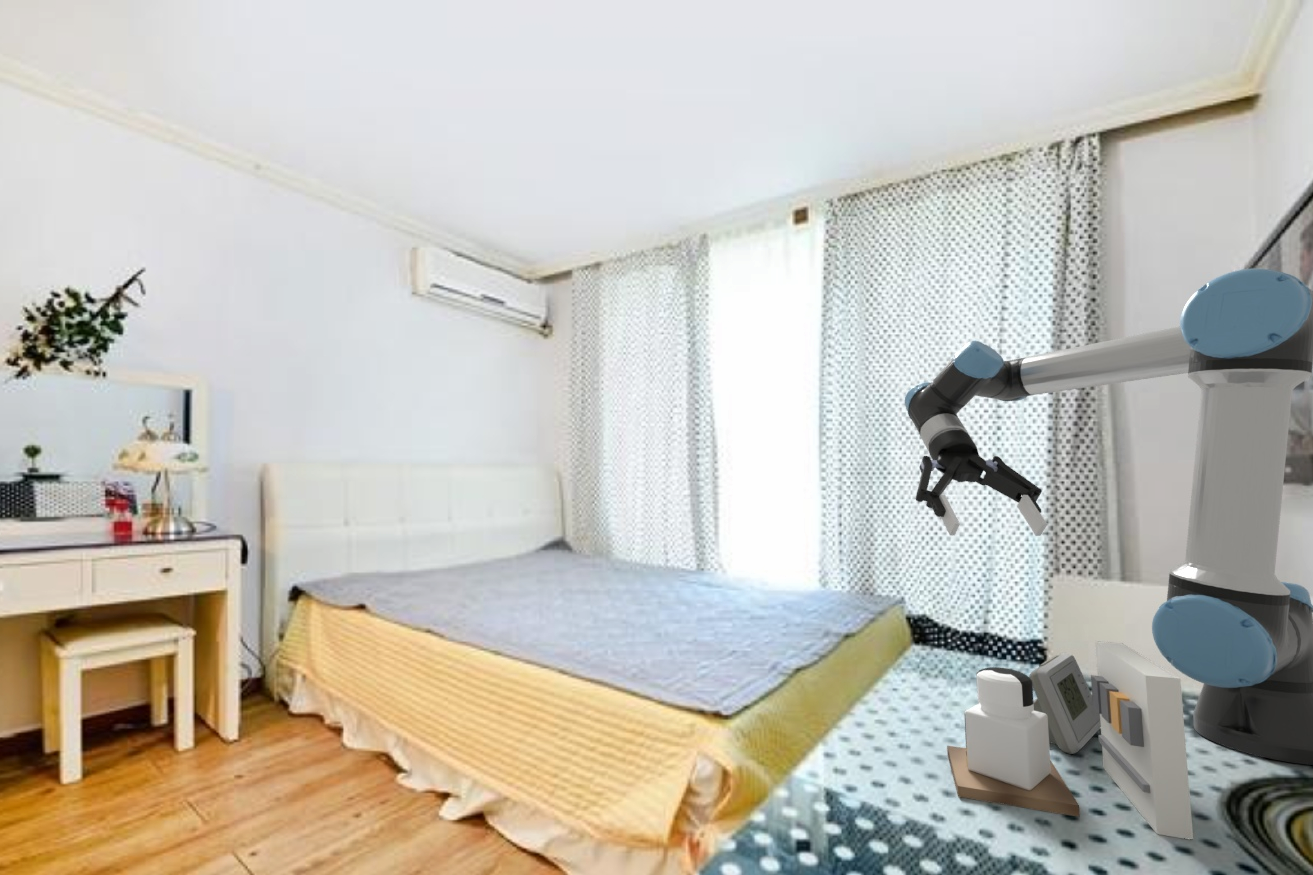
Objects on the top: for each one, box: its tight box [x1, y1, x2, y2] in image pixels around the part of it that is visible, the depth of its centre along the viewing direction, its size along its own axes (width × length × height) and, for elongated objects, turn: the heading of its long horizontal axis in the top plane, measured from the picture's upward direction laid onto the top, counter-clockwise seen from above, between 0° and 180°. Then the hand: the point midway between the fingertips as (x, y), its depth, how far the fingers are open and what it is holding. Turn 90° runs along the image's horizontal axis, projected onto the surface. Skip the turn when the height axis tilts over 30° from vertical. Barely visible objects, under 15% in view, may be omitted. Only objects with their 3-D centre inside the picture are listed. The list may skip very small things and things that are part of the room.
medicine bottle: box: [964, 666, 1051, 791], centre depth 73 cm, size 7×7×12 cm
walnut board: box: [946, 745, 1081, 818], centre depth 73 cm, size 12×12×1 cm
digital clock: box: [1028, 652, 1101, 755], centre depth 87 cm, size 16×9×11 cm, turn 121°
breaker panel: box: [1090, 640, 1194, 840], centre depth 69 cm, size 4×16×16 cm, turn 159°
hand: (998, 530), depth 93 cm, fingers open, 13 cm apart
